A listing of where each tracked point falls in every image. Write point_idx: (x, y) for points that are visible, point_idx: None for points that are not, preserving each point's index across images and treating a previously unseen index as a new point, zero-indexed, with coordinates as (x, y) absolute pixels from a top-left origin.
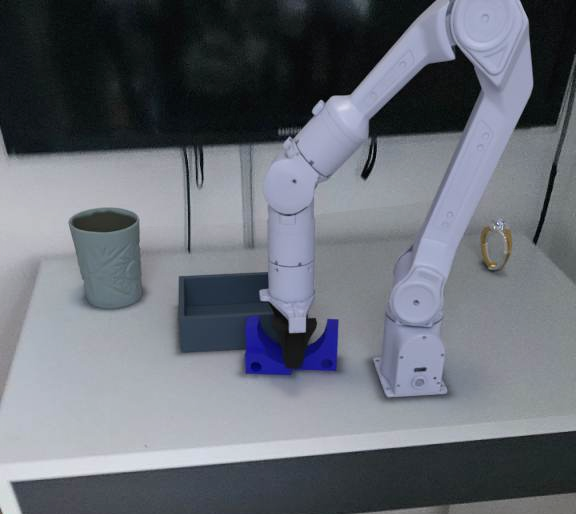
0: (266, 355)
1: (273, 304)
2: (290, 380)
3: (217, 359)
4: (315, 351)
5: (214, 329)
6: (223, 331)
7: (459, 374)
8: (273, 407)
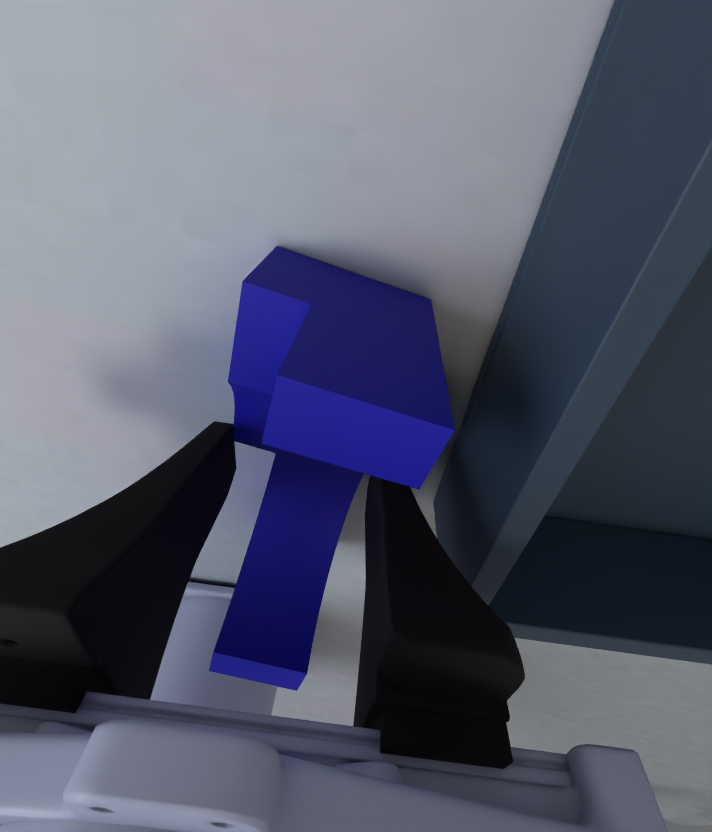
0: (231, 384)
1: (25, 752)
2: (210, 403)
3: (467, 101)
4: (250, 540)
5: (648, 108)
6: (602, 193)
7: None
8: (8, 303)
